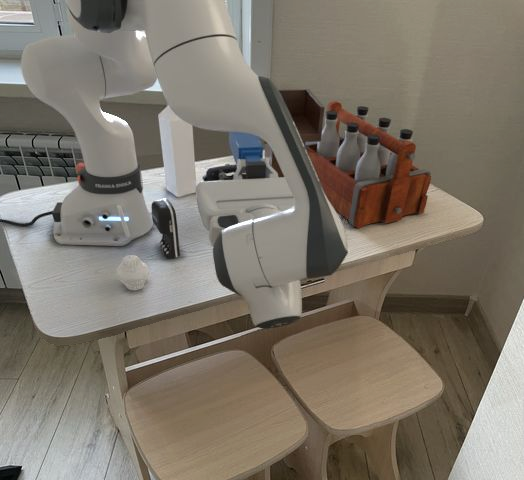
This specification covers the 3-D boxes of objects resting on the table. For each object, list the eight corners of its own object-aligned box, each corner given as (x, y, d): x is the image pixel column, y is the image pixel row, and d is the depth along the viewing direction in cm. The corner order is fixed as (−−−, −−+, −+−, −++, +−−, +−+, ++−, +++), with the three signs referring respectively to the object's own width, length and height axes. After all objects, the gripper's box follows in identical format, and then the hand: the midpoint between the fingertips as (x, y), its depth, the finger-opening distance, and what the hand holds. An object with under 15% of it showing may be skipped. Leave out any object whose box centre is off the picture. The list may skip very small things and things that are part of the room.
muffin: (118, 296, 97) (112, 266, 92) (120, 278, 102) (114, 248, 97) (151, 293, 98) (146, 263, 93) (150, 276, 102) (146, 246, 98)
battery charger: (154, 245, 111) (148, 198, 103) (171, 242, 112) (165, 194, 105) (164, 261, 107) (157, 212, 99) (181, 257, 108) (176, 209, 100)
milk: (177, 197, 129) (168, 107, 114) (166, 189, 132) (155, 100, 117) (197, 191, 131) (191, 103, 116) (185, 183, 135) (178, 96, 120)
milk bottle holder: (360, 234, 117) (375, 153, 104) (290, 176, 140) (295, 103, 127) (430, 217, 124) (452, 139, 111) (352, 165, 147) (363, 94, 134)
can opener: (209, 193, 131) (208, 172, 127) (201, 182, 136) (199, 162, 132) (270, 183, 137) (271, 162, 133) (260, 173, 141) (260, 153, 137)
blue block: (244, 187, 82) (244, 162, 79) (229, 145, 95) (228, 122, 92) (268, 185, 83) (269, 160, 80) (250, 144, 96) (250, 121, 93)
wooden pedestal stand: (261, 243, 113) (265, 108, 93) (252, 218, 122) (254, 90, 102) (310, 240, 115) (324, 107, 95) (298, 215, 123) (309, 88, 104)
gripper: (330, 218, 78) (315, 145, 82) (201, 226, 75) (191, 150, 79) (321, 238, 84) (307, 169, 88) (201, 246, 81) (192, 175, 85)
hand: (252, 160), depth 84 cm, fingers closed on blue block, 2 cm apart
